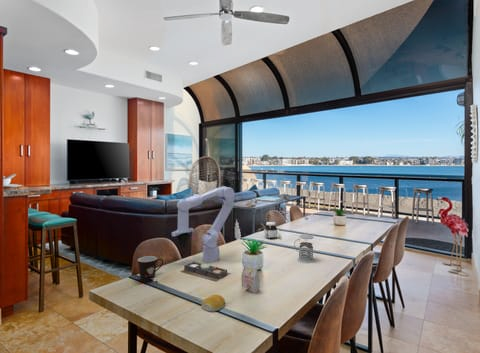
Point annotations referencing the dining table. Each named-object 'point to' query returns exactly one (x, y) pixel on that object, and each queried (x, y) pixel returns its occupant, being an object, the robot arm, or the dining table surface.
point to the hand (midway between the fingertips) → (182, 247)
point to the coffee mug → (147, 268)
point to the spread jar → (271, 231)
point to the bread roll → (213, 303)
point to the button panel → (205, 272)
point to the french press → (305, 249)
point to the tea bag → (250, 279)
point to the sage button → (205, 266)
